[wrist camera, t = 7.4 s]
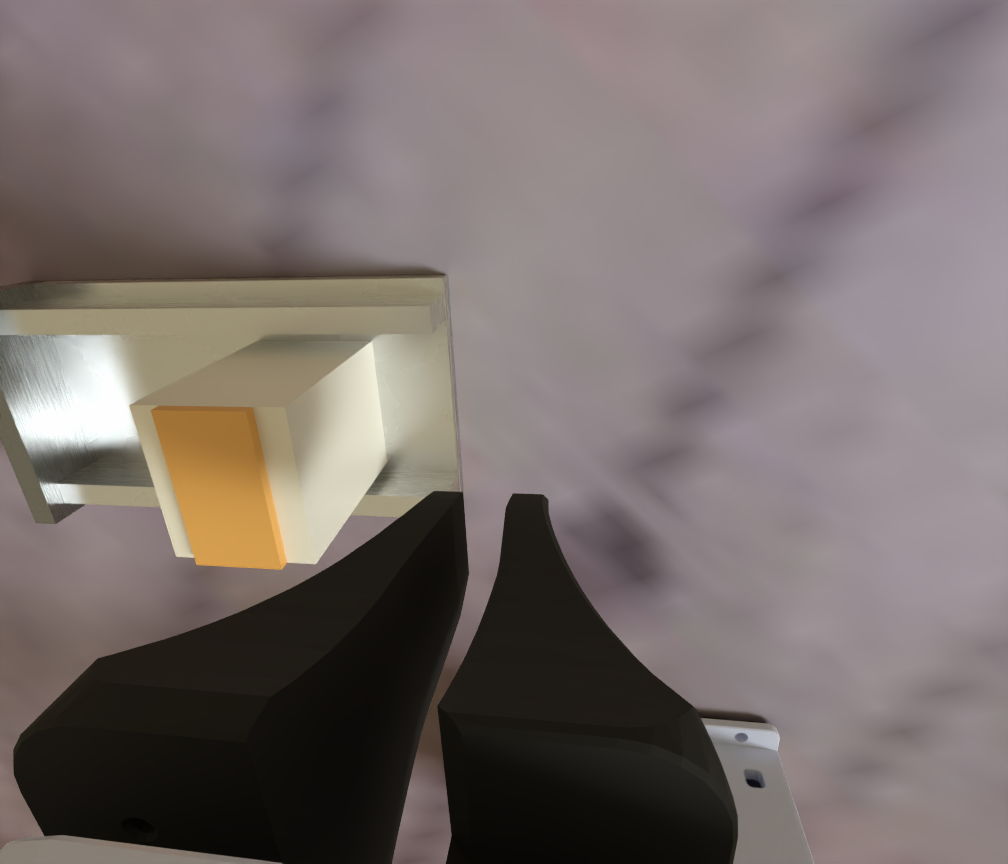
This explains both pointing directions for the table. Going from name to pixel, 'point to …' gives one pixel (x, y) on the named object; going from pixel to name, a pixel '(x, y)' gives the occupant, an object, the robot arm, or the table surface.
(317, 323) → the grey piece
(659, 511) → the table surface
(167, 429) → the block
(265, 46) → the table surface
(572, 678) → the robot arm
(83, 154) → the table surface
